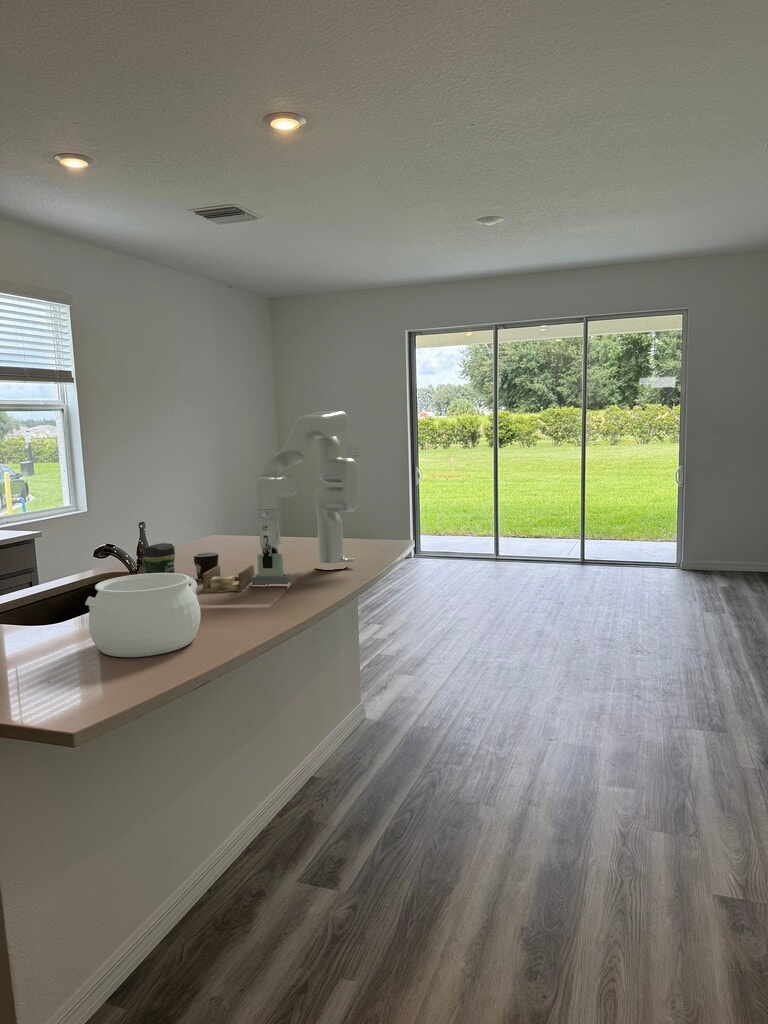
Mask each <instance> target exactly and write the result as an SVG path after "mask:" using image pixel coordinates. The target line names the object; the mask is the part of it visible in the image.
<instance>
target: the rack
mask: <svg viewBox="0 0 768 1024" xmlns="http://www.w3.org/2000/svg"><path fill="white" fill-rule="evenodd" d="M254 568H255V567H254V565H253V564H251V565H249V566H247V567H246V568H244V569H242V571H241V572H239V573H237V575H238V576H235V581H239V588H211V579H212V578H213V577H219V576H221V566H220V565H218V566H216V567H214V568H212V569H211V570H209V571H207V572H205V573H204V574H202V575H203V581H202V588H203V589H202V590H203V591H202V592H203V593H218V592H217V591H242V590H244V589H245V588H246V587H247V586H248V585H249V584H250V583H251V582H252V577H253V576H254V575H255V570H254ZM245 590H246V589H245ZM245 590H244V591H245Z"/></svg>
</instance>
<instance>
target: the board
mask: <svg viewBox="0 0 768 1024" xmlns="http://www.w3.org/2000/svg"><path fill="white" fill-rule="evenodd" d="M271 556H272V563H273V567H272V568H263V560H262V553H258V554H257V568H258V574H259V577H264V576H283V574H284V563H283V560H284V559H283V553H280V552H278V554H271Z"/></svg>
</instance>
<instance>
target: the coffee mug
mask: <svg viewBox="0 0 768 1024" xmlns="http://www.w3.org/2000/svg"><path fill="white" fill-rule="evenodd" d="M193 564H194V566H195V569H196V570H195V571H196V575H197V580H198V579H201V580H203V575H202V574H204V573H205V572H207V571H209V570H211V569H212V568H214V567H216V566H219V552H211V551H210V552H209V551H208V552H200V553H195V554H193Z"/></svg>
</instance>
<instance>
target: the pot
mask: <svg viewBox="0 0 768 1024" xmlns="http://www.w3.org/2000/svg"><path fill="white" fill-rule="evenodd" d="M197 587H198V583H197V581H196V580H195V579H194V577H192V576H189V575H187V574H182V573H148V574H146V573H139V574H130V575H129V574H128V575H124V576H119V577H118V576H117V577H113V578H109V579H106V580H102V581H100V582H98V583H97V584H95V586H94V589H95V590H96V591H97V593H96V595H95V597H93V596H88V597H87V599H86V601H85V604H84V605H85V606H88V609H89V611H88V630H89V635H90V637H91V640H92V642H93V643H94V645H95V646H96V648H97V649H98V650H99V651H100V652H102V653H103V655H107V656H111V657H118V658H142V657H143V658H145V657H153V656H157V655H158V656H159V655H163V654H167V653H171V652H173V651H177V650H180V649H182V648H184V647H187V646H188V645H189V644H191V643H192V641H194V639H195V637H196V636H197V634H198V631H199V627H200V624H201V606H200V603H199V600H198V594H197V592H196V589H197Z"/></svg>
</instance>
